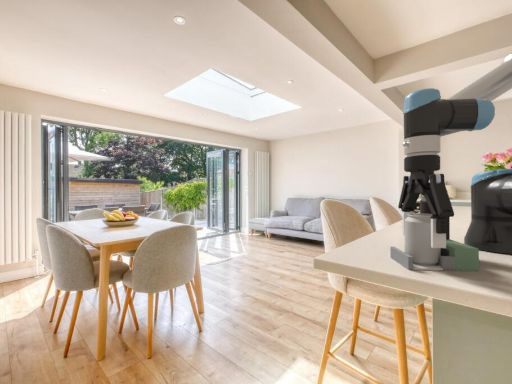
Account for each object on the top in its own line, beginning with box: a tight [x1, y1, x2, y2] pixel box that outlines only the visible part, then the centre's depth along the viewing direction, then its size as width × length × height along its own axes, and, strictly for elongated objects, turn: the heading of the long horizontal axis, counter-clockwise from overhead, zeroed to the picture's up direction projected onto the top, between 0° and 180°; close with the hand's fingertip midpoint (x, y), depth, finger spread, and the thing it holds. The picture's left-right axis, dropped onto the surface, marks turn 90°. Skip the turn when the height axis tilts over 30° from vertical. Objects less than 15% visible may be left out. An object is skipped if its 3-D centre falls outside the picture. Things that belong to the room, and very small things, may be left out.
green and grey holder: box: [389, 239, 480, 272], centre depth 63 cm, size 15×10×5 cm, turn 84°
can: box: [404, 212, 441, 265], centre depth 63 cm, size 8×8×12 cm
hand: (421, 241), depth 63 cm, fingers open, 13 cm apart
